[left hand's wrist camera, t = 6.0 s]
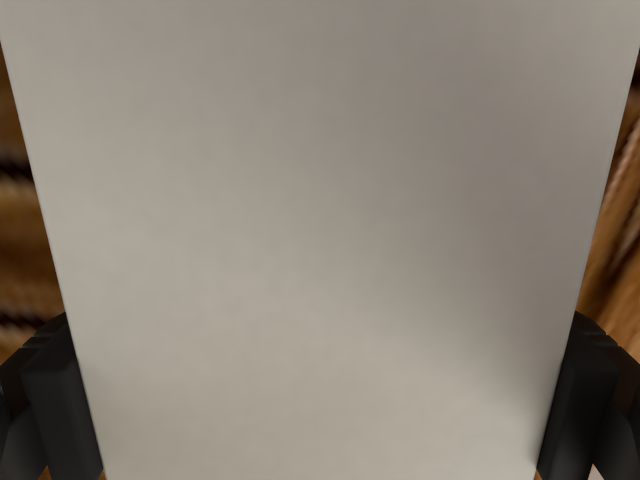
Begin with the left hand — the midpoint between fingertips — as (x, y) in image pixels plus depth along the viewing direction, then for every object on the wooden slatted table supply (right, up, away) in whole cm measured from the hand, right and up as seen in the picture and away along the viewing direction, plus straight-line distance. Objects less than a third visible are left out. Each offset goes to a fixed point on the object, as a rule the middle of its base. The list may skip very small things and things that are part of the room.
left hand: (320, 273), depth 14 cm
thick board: (0, +18, -7) cm, 19 cm away
